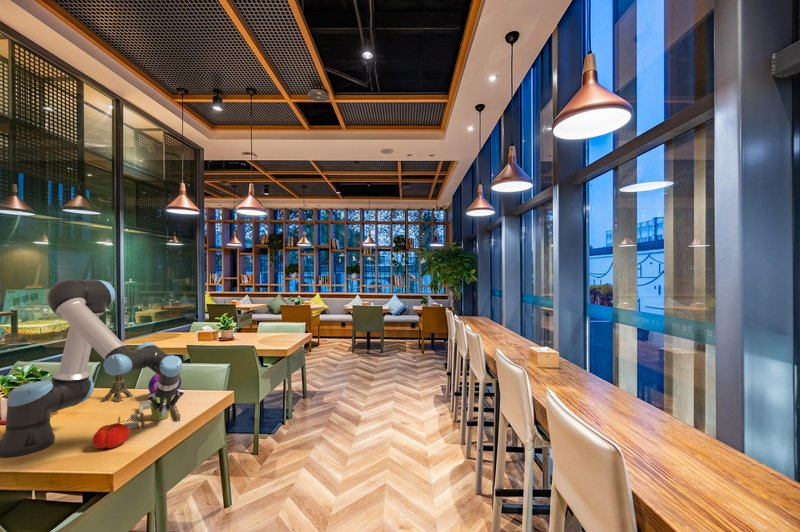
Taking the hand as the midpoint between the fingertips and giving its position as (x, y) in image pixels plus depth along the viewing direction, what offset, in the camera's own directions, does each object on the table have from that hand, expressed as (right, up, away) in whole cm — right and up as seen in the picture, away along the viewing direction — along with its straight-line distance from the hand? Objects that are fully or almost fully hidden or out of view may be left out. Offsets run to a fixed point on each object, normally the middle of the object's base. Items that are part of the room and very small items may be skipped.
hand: (163, 413), depth 160 cm
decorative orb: (-21, -5, +33) cm, 40 cm away
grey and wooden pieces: (-10, -4, +5) cm, 12 cm away
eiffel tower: (-45, -5, +30) cm, 55 cm away
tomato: (-3, -2, -25) cm, 25 cm away
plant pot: (-3, -4, +3) cm, 6 cm away
